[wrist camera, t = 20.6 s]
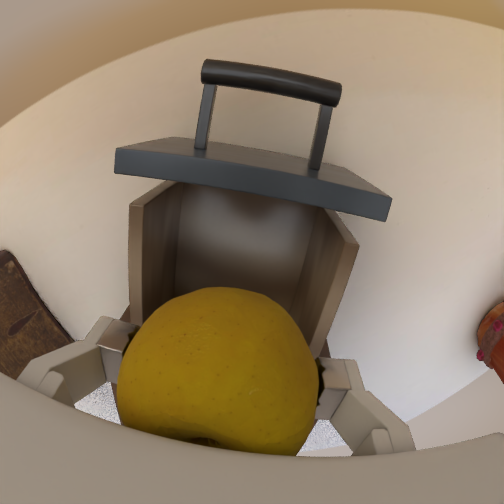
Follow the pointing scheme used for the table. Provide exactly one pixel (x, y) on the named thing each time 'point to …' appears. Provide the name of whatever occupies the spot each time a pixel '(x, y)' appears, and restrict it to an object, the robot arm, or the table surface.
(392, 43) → the table surface
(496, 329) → the mug
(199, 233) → the drawer
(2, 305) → the book
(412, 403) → the table surface
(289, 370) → the apple
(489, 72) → the table surface
